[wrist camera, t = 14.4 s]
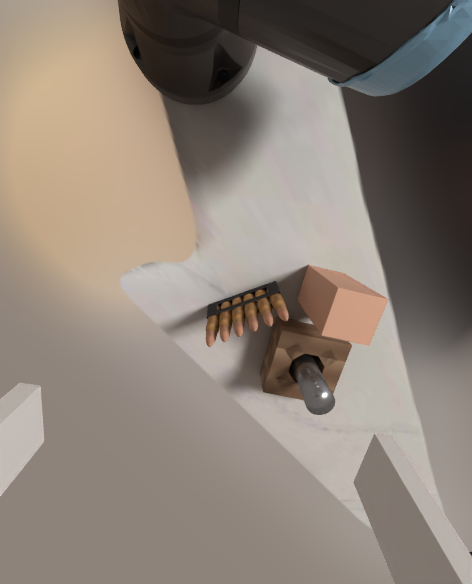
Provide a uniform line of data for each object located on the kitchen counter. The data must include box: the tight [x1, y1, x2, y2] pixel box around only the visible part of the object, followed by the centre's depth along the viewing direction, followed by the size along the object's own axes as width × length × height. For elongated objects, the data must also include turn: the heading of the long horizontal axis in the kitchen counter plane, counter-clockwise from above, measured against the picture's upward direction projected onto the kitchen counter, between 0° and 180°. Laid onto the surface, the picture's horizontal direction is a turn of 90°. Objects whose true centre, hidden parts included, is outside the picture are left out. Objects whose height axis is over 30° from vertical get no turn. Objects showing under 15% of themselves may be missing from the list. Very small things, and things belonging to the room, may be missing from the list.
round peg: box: [291, 353, 335, 415], centre depth 38 cm, size 3×3×12 cm
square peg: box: [297, 265, 388, 346], centre depth 35 cm, size 6×6×12 cm
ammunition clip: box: [206, 281, 289, 347], centre depth 35 cm, size 11×2×12 cm, turn 110°
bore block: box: [260, 317, 352, 400], centre depth 41 cm, size 10×10×5 cm
